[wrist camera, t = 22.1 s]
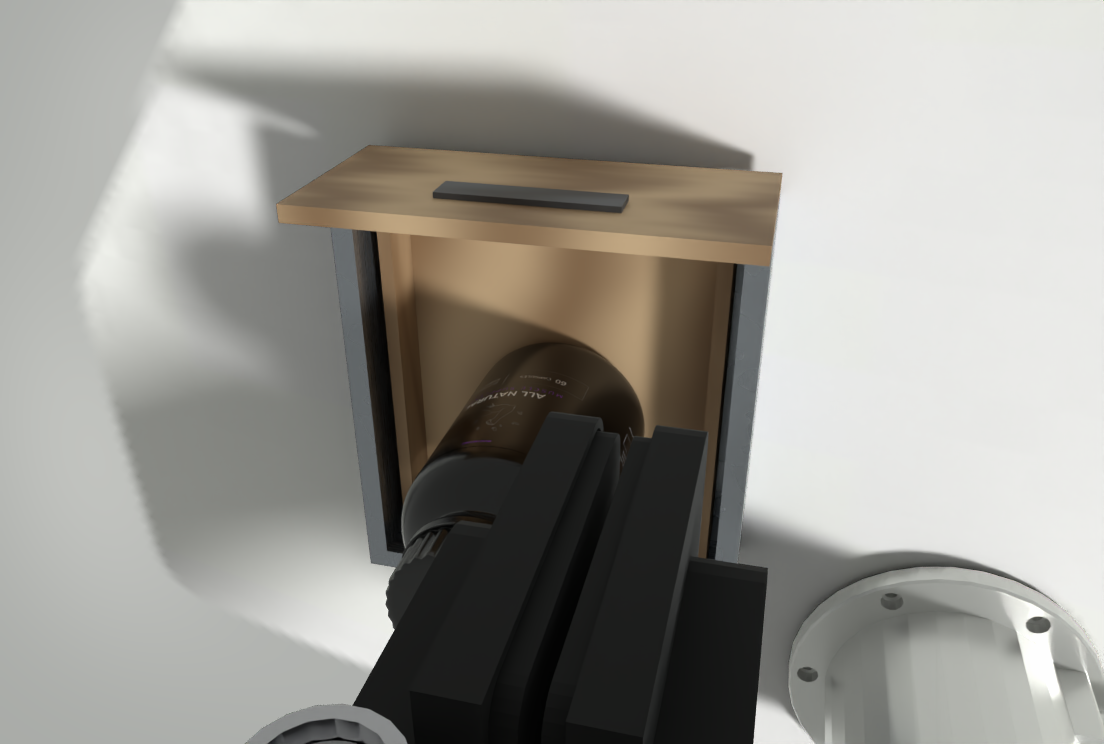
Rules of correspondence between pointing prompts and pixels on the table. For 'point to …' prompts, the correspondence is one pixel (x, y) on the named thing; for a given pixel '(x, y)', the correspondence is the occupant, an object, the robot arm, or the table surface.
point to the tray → (550, 275)
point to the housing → (377, 411)
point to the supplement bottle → (503, 446)
